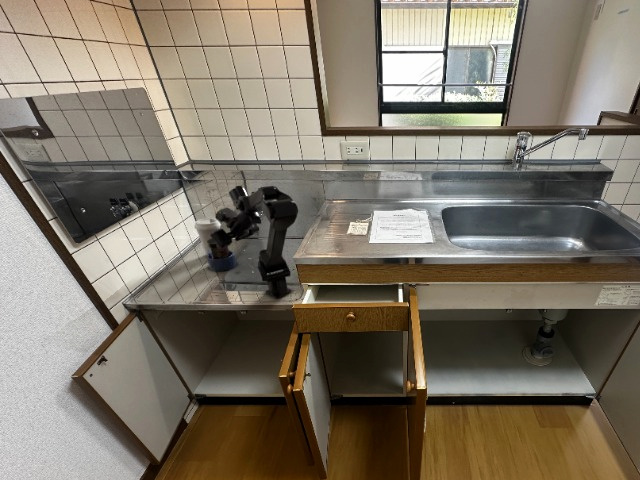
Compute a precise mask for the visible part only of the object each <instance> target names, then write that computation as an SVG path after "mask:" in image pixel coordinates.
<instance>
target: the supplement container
mask: <svg viewBox="0 0 640 480" xmlns="http://www.w3.org/2000/svg"><path fill="white" fill-rule="evenodd" d="M207 244H208V247H209V251H210V254H211V258H212V259H223V258H227V257H229V256H230V254H229V250H230V249H229V246H227V247H225V248H221V249H218V248H217V243H216V241H215V240H214V239H213V238H212V239H209V240H208V241H207Z"/></svg>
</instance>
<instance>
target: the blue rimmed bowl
mask: <svg viewBox="0 0 640 480" xmlns="http://www.w3.org/2000/svg"><path fill="white" fill-rule="evenodd" d="M229 254H230V256H229V257H227V258H223V259H212V258H211V254H210V253H208V254H207V255H206V261H207V264H208V267H209V269H210V271H213V272H224V271H229V270H231V269H234V268H235V267H236V266H237V261H236V256H235V252H234V251H232V250H230V249H229Z"/></svg>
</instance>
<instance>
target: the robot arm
mask: <svg viewBox="0 0 640 480" xmlns="http://www.w3.org/2000/svg"><path fill="white" fill-rule="evenodd" d="M228 195H229V197H230V199H231V201H232V203H233V206H234V208H235V210H237V211H238V210H239V213H237V212H236V211H234V210H233V209H231V208H230V207H223V208H221V209H219V210H218V211H216V213H215V214H214V215H215V218H214V219H217V220H218V222H219V223H225V227H226V228H227V229H229V231H228V232H226V231H225V230H224V228H221V227H220V229H217V230H214V231H212V232H211V234H210V236H211V237H212V238H213V239H214V240H215V241H216V243H217V248H218V249H221V248H225V247H227V246H228V247H230V246H231V244H233V239H234V240H235V241H236V242H239V241H241V240H244V239H246V238H249V237H252V236H254V235H256V234H258V233H259V231H260V227H259V225H261V224H262V219H261V216H260V213H263V214H264V216H265V217H266V219H267V220H268V222H269V224H270V225H269V230H268V237H267V244H266V249H262V250H260V251H259V254H258V255H259V256H258V262H257V269H258V271H259V274H260V277H261V281H262V282H266V283H267V287H268V290H266V291H265V294H267V295H269V296H271V297H273V298H274V299H279V298H281V297H284V296H286V295H287V294H289V293H292V289H290V288H288V283H287V278H289V277H291V275H292V274H291V270H290V268H289V265H288V264H287V262H286V259H285V257H284V256H283V252H284V246H285V241H286V237H287V232H288V229H289V228H290V227H291V226H292V225H294V224H295V223H296V220H297V218H298V215H299V208H298V204H297V203H296V202H295V201H294V199H293V198H292V197H291V196H290V195H289V194H287V193H285V192H283V191H281V190H280V189H279V188H278V187H277V186H276V185H266V186H265V185H264V186H259V187H258V188H257V190H255V191H254V192H252V193H251V194H248V192H247V190H246V189H245V188H244V187H243V186H242V185H235V187H233V188H232V189H230V190H229V191H228Z"/></svg>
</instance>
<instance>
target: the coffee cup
mask: <svg viewBox="0 0 640 480" xmlns="http://www.w3.org/2000/svg"><path fill="white" fill-rule="evenodd" d="M221 226H222V223H221V222H220V221H219V220H217V219H216V218H213V217H205V218H200V219H197V220H195V223H194V229H195V230H196V232H197V234H198V237H199V239H200V242H201V244H202V248H203V249H204V252H205V255H206V256H207V254H208V253H210V251H209V247H208V244H207V241H208V240H209V239H212V237H211V236H210V234H211V232H212V231H214V230H217V229H220V228H221Z"/></svg>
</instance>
